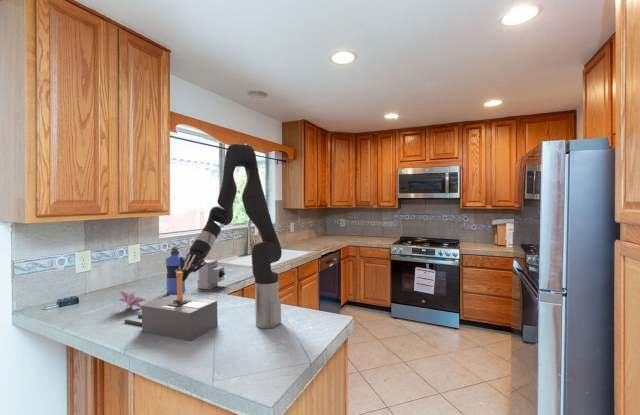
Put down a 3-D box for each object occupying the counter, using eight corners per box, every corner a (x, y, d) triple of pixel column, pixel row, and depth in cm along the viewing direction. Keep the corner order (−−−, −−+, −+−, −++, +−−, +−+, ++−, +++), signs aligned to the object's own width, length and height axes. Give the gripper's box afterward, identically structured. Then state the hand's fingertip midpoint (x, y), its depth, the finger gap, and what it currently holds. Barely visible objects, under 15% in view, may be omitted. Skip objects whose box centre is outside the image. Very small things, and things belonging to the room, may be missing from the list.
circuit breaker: (220, 289, 168) (219, 263, 168) (197, 288, 171) (197, 262, 170) (227, 285, 175) (226, 260, 175) (205, 284, 178) (204, 259, 178)
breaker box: (217, 325, 118) (217, 297, 118) (190, 341, 105) (189, 309, 105) (147, 313, 133) (146, 288, 132) (115, 326, 120) (114, 297, 119)
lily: (147, 313, 135) (152, 292, 140) (120, 310, 127) (125, 288, 131) (133, 317, 141) (138, 296, 146) (106, 314, 132) (112, 293, 137)
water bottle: (189, 290, 167) (188, 246, 166) (176, 295, 158) (175, 248, 157) (175, 289, 169) (174, 245, 169) (162, 294, 160) (161, 248, 160)
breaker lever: (183, 301, 116) (182, 272, 116) (180, 302, 115) (180, 272, 115) (179, 301, 117) (178, 271, 117) (176, 302, 116) (176, 272, 116)
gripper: (186, 238, 128) (162, 273, 117) (211, 239, 123) (188, 276, 112) (196, 248, 133) (174, 283, 122) (220, 250, 128) (199, 286, 117)
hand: (181, 279), depth 117 cm, fingers closed
